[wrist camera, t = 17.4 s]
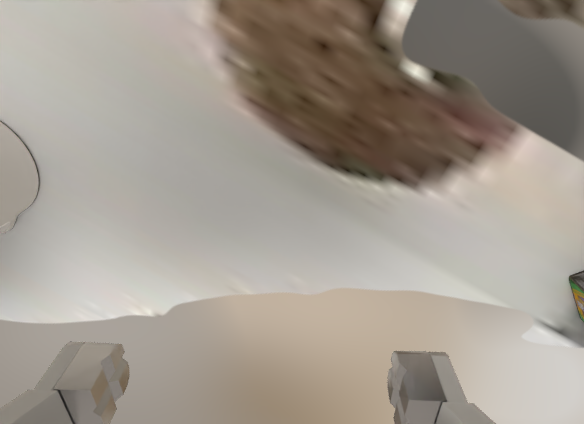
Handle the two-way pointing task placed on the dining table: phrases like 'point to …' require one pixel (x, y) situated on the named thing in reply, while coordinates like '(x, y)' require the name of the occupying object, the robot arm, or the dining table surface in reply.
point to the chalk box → (578, 291)
